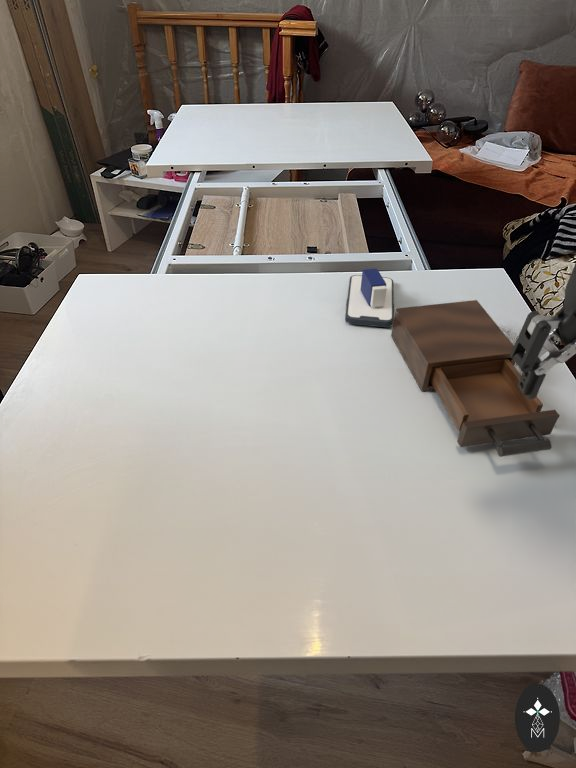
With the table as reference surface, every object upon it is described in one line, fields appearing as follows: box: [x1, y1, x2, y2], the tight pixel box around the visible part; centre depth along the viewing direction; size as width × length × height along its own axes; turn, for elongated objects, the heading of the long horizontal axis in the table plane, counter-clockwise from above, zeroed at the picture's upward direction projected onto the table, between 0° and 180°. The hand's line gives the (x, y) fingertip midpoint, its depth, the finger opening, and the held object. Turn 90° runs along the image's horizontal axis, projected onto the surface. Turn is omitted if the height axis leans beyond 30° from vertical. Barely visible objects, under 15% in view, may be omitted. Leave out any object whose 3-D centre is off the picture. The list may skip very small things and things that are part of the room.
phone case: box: [344, 274, 395, 328], centre depth 101 cm, size 9×2×16 cm
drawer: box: [430, 358, 560, 458], centre depth 77 cm, size 18×14×4 cm
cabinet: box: [390, 299, 516, 392], centre depth 88 cm, size 15×15×6 cm
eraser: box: [360, 267, 387, 307], centre depth 98 cm, size 3×7×4 cm, turn 11°
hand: (562, 390), depth 59 cm, fingers open, 8 cm apart
